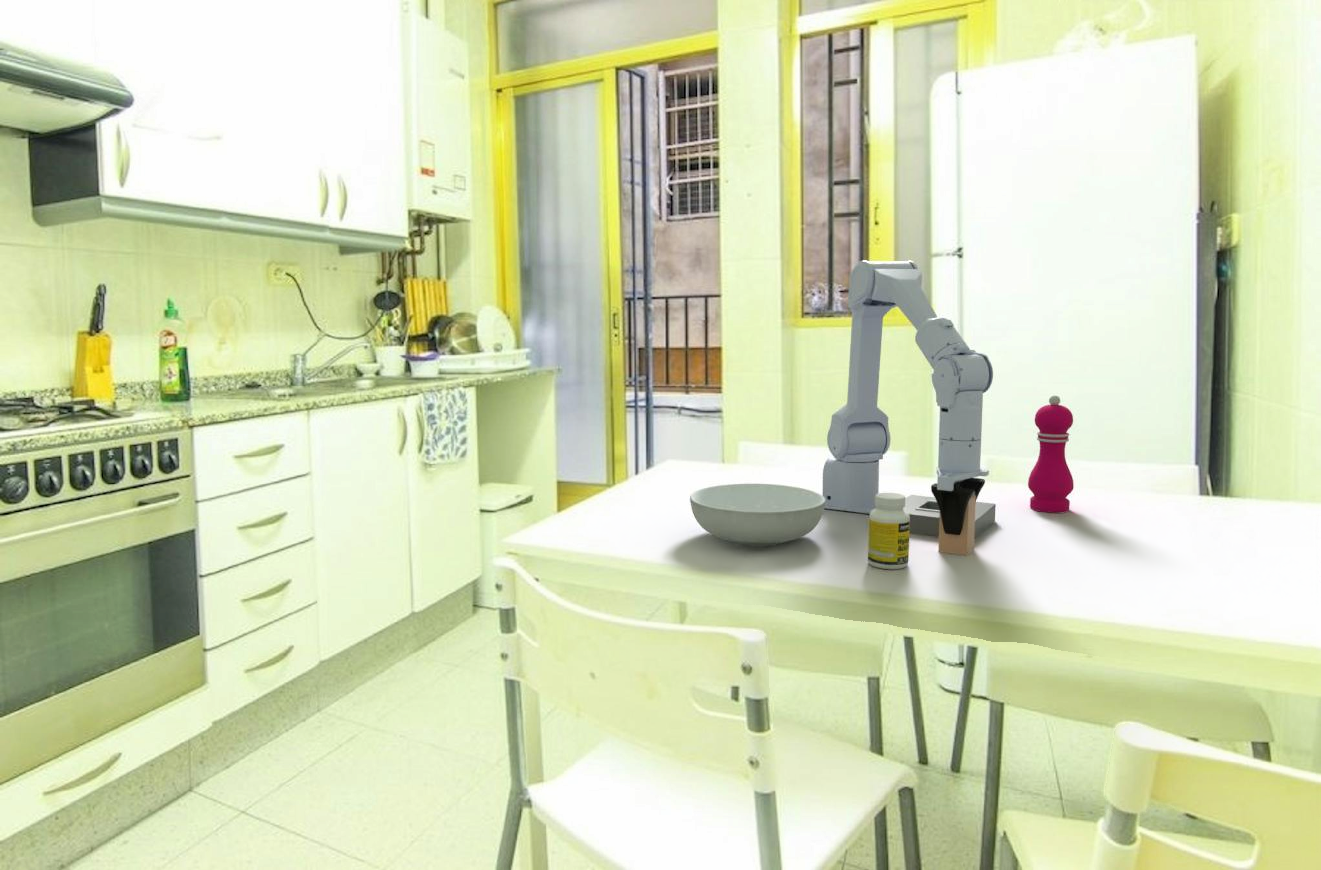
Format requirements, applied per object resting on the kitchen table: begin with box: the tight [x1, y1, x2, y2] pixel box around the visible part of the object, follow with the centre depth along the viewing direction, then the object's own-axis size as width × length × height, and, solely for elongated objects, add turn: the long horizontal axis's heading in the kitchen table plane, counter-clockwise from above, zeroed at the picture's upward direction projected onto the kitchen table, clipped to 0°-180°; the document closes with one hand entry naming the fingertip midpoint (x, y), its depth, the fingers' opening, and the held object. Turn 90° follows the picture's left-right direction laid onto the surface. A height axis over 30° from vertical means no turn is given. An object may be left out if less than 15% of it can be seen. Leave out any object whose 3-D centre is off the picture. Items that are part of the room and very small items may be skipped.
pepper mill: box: [1027, 395, 1074, 514], centre depth 141 cm, size 7×7×20 cm
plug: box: [938, 491, 977, 556], centre depth 118 cm, size 4×4×9 cm
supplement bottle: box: [867, 492, 910, 570], centre depth 112 cm, size 5×5×10 cm
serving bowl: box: [689, 483, 826, 547], centre depth 127 cm, size 21×21×7 cm
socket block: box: [903, 494, 997, 541], centre depth 133 cm, size 14×14×3 cm
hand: (956, 530), depth 118 cm, fingers closed on plug, 4 cm apart
